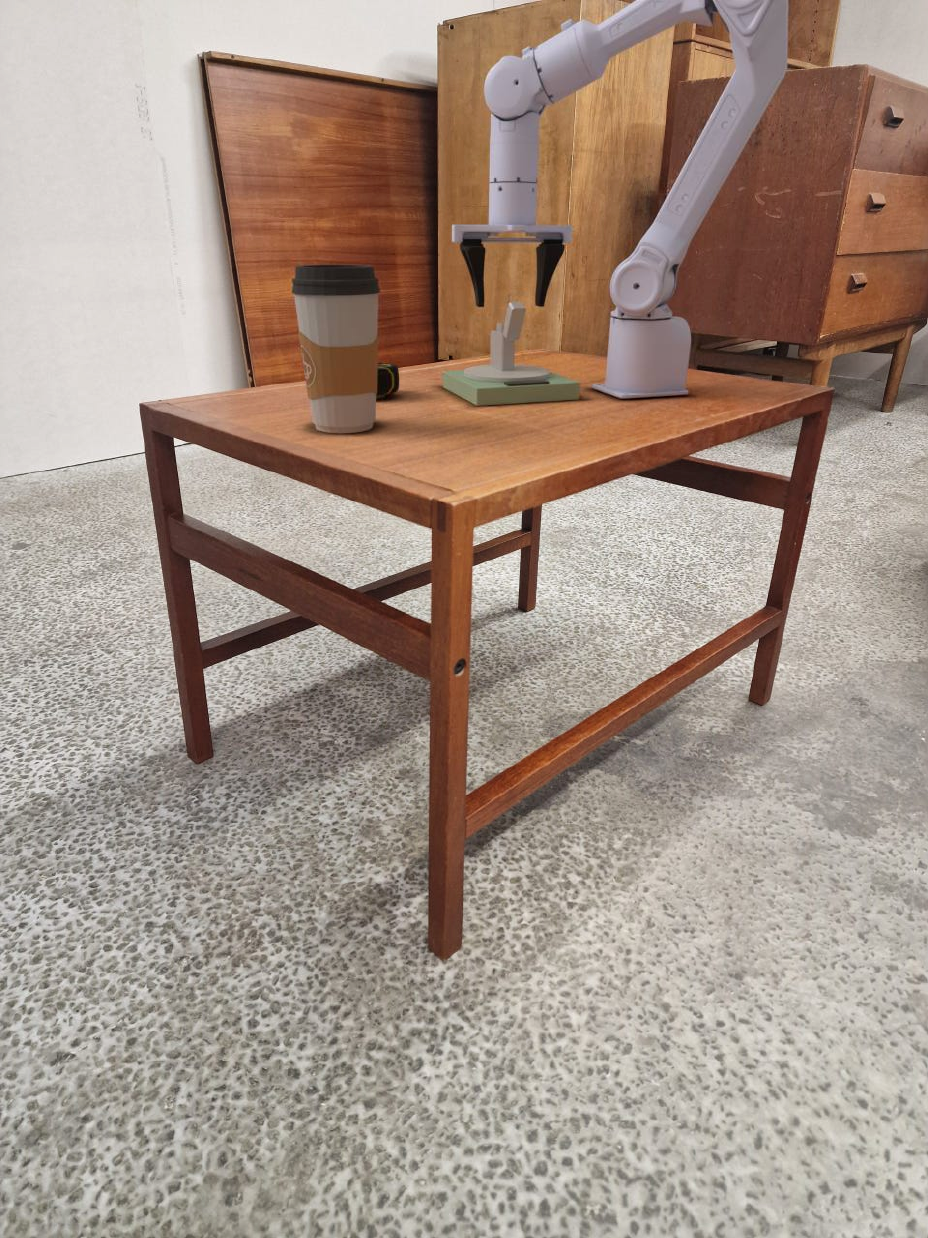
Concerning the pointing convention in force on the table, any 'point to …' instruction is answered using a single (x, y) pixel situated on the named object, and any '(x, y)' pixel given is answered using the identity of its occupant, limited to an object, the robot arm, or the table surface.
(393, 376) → the tape measure
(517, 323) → the lighter
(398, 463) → the table surface
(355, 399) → the coffee cup
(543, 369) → the scale
